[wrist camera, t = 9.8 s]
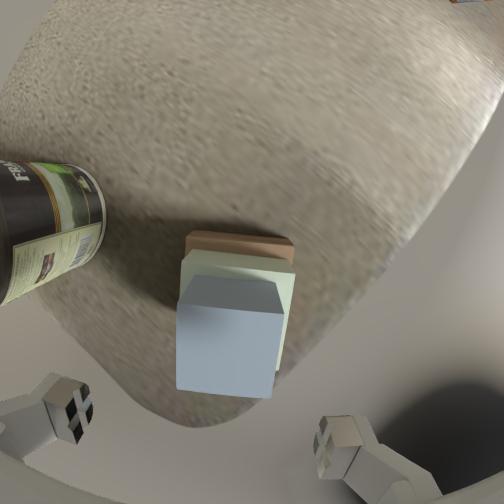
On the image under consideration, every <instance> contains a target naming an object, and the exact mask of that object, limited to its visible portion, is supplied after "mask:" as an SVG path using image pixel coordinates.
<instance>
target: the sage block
mask: <svg viewBox="0 0 504 504" xmlns="http://www.w3.org/2000/svg"><path fill="white" fill-rule="evenodd" d="M194 275H201V276H210V277H220V278H229V279H239V280H249V281H260V282H270V283H276V286H277V289H278V293H279V296H280V300H281V303H282V307H283V310H284V314H285V315H284V321H283V328H282V334H281V340H280V347H279V353H278V359H277V365H276V370H279V365H280V360H281V354H282V349H283V344H284V338H285V332H286V327H287V321H288V315H289V310H290V304H291V298H292V292H293V285H294V279H295V273H294V271H293V269H292V267H291V265H290V263H289V262H288V260H286V259H277V258H268V257H260V256H251V255H242V254H233V253H225V252H216V251H207V250H199V249H192V250H191V251H190V252H189V254H188V255H187V256H186V257H185V258H184V259H183V260H182V263H181V279H180V298H181V296H182V294H183V293H184V291H185V289H186V288H187V286H188V285H189V283H190V281H191V280H192V278H193V277H194ZM180 298H179V299H180Z"/></svg>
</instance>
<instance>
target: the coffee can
mask: <svg viewBox="0 0 504 504" xmlns="http://www.w3.org/2000/svg"><path fill="white" fill-rule="evenodd" d="M105 228H106V206H105V201H104V198H103V194H102V192H101V190H100V188H99V186H98V184H97V182H96V181H95V179H94V178H93V177H92V176H91V175H90V174H89V173H88V172H87V171H85V170H84V169H82V168H80V167H78V166H75V165H71V164H49V163H35V162H20V161H2V160H0V307H2V306H3V305H5V304H7V303H9V302H11V301H13V300H15V299H17V298H18V297H20V296H22V295H24V294H26V293H27V292H29V291H31V290H33V289H35V288H37V287H38V286H40V285H42V284H44V283H46V282H48V281H50V280H52V279H54V278H56V277H58V276H60V275H62V274H64V273H66V272H67V271H70V270H71V269H73V268H76V267H79V266H81V265H83V264H85V263H86V262H88V261H89V260H90V259H91V258H92V257H93V256H94V255H95V253H96V252H97V250H98V249H99V247H100V245H101V243H102V240H103V237H104V233H105Z"/></svg>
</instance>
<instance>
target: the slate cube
mask: <svg viewBox="0 0 504 504" xmlns="http://www.w3.org/2000/svg"><path fill="white" fill-rule="evenodd" d="M284 315H285V314H284V310H283V307H282V303H281V300H280V296H279V293H278V289H277V286H276V283H270V282H260V281H249V280H239V279H229V278H220V277H210V276H201V275H194V277H193V278H192V280H191V281H190V283H189V285H188V286H187V288H186V289H185V291H184V293H183V294H182V296H181V298H180V299H179V301H178V302H177V329H176V380H177V389H181V390H188V391H195V392H203V393H211V394H220V395H230V396H241V397H254V398H271V393H272V388H273V382H274V376H275V371H276V365H277V359H278V353H279V347H280V340H281V334H282V328H283V321H284Z"/></svg>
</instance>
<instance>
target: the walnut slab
mask: <svg viewBox="0 0 504 504" xmlns="http://www.w3.org/2000/svg"><path fill="white" fill-rule="evenodd" d="M294 248H295V246H294V245H293V244H292V243H291V241H290V240H289V239H287V238H277V237H267V236H257V235H247V234H236V233H226V232H215V231H204V230H194V231H192V232H191V233H189V234H188V235H187V236H186V243H185V257H186V256H187V255H188V254H189V252H190V251H191V250H192V249H199V250H207V251H216V252H225V253H233V254H242V255H251V256H260V257H268V258H277V259H286V260H288V262H289V263H290V265H291V267H292V264H293V256H294Z"/></svg>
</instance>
